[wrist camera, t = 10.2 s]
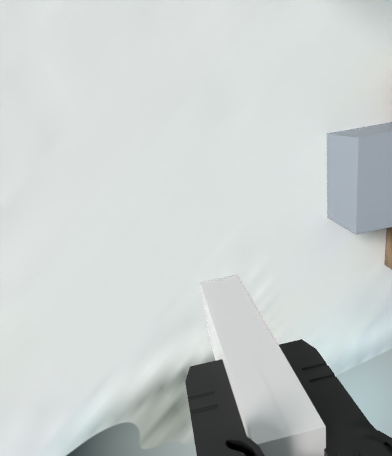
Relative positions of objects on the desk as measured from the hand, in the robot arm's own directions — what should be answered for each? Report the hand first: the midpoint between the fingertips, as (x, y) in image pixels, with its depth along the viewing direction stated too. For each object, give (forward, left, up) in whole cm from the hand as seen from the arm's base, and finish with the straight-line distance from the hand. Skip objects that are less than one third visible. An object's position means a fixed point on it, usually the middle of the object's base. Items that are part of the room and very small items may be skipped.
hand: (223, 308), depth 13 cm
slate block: (+3, +22, -25) cm, 33 cm away
